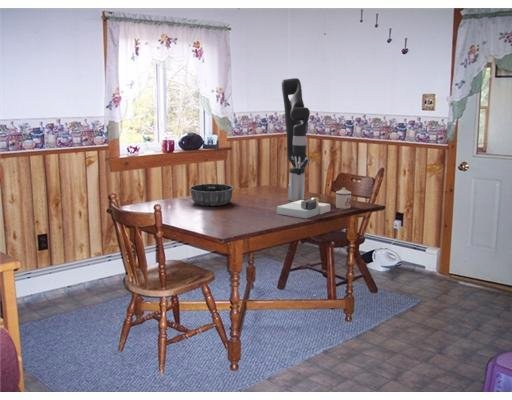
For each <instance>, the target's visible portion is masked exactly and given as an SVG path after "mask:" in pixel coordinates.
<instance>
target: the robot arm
mask: <svg viewBox="0 0 512 400" xmlns="http://www.w3.org/2000/svg"><path fill="white" fill-rule="evenodd" d="M281 92H282V97H283V108H284V122H285V129H286V132H285V133H286V156H287V157H286V158H287V159H288V161H289V162H290V163H291V165H292V166H291V167H290V168H289V181H288V182H289V184H287V201H291V202H295V201H299V200H304V201H305V173H306V171H305V170H306V167H307V165H308V164H309V162H310V161H311V159H310V158H308V157H307V126H308V121H309V118H310V115H311V114H310V113H311V112H310V111H311V110H310V109H309V108H308V107H305V104H304V100H303V91H302V84H301V81H300V79H299V78H297V77H296V78H294V77H293V78H286V79H282V81H281ZM291 95H292V96H291ZM289 96H291V97H290V98H289Z"/></svg>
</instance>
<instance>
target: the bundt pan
mask: <svg viewBox="0 0 512 400" xmlns="http://www.w3.org/2000/svg"><path fill="white" fill-rule="evenodd" d="M234 188H235V187H234V186H233V185H229V184H223V183H221V184H220V183H201V184H195V185H192V186H190V187H189V190H190V194H191V200H192V201H193V203H195V204H196V205H199V206H205V207H209V206H211V207H215V206H217V207H218V206H219V207H220V206H223V205H228V204H229V203H230V202H231V200H232V196H233V190H234Z"/></svg>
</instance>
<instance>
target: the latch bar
mask: <svg viewBox="0 0 512 400" xmlns="http://www.w3.org/2000/svg"><path fill="white" fill-rule="evenodd" d="M319 199H320V198H319V197H316V196H315V197H311V198H309V199H306V200H305V199H304V201H302V202H301V208H305V209H306V208H307V203H308V202H310V201H316V205H318V202H319Z"/></svg>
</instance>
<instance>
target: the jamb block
mask: <svg viewBox="0 0 512 400" xmlns="http://www.w3.org/2000/svg"><path fill="white" fill-rule="evenodd" d="M302 201H305V199H304V200H299V201H291V203H292V204H299V205H301V202H302ZM316 207H318V215H323V214H325V213H328V212H331V204H330V203H325V202H319V201H318V205H316Z"/></svg>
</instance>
